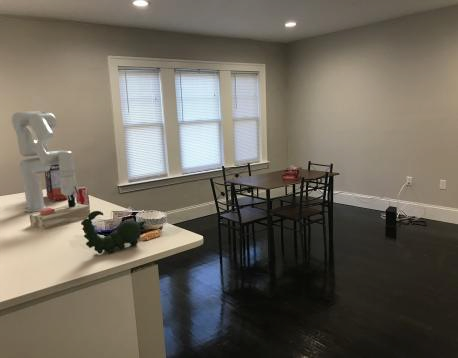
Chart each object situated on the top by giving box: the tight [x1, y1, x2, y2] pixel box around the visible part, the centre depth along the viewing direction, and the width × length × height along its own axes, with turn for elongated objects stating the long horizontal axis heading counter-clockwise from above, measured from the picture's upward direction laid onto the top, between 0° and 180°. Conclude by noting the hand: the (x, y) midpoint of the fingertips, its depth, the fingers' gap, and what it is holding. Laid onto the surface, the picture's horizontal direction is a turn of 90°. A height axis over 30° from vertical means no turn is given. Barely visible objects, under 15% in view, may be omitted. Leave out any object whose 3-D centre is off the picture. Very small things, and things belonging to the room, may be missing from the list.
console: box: [28, 202, 91, 230], centre depth 198 cm, size 14×26×6 cm, turn 145°
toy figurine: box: [81, 210, 146, 255], centre depth 149 cm, size 9×19×25 cm
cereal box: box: [44, 164, 68, 202], centre depth 258 cm, size 27×11×32 cm, turn 34°
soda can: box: [75, 186, 91, 207], centre depth 223 cm, size 7×7×13 cm
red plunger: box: [39, 207, 55, 215], centre depth 192 cm, size 5×5×4 cm
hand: (72, 206), depth 203 cm, fingers closed
